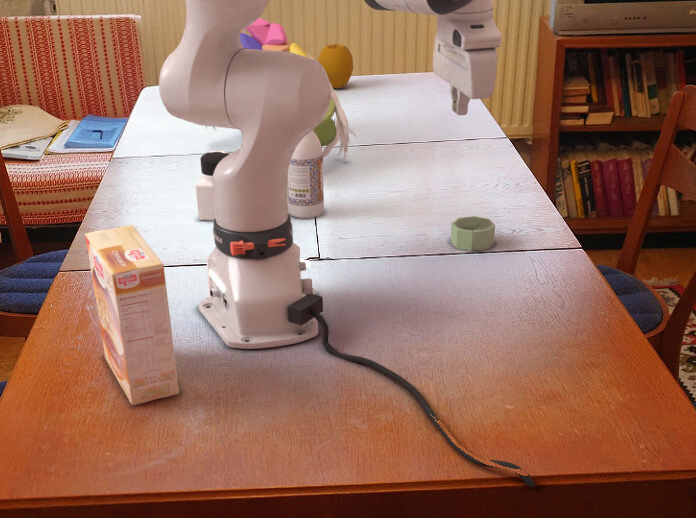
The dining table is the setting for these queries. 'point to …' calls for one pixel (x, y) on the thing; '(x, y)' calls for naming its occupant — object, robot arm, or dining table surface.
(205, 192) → the medicine bottle
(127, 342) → the coffeecake box
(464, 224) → the tin
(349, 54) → the apple
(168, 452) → the dining table surface
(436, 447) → the dining table surface
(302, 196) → the bath foam
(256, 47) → the colorful pinata
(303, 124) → the robot arm
